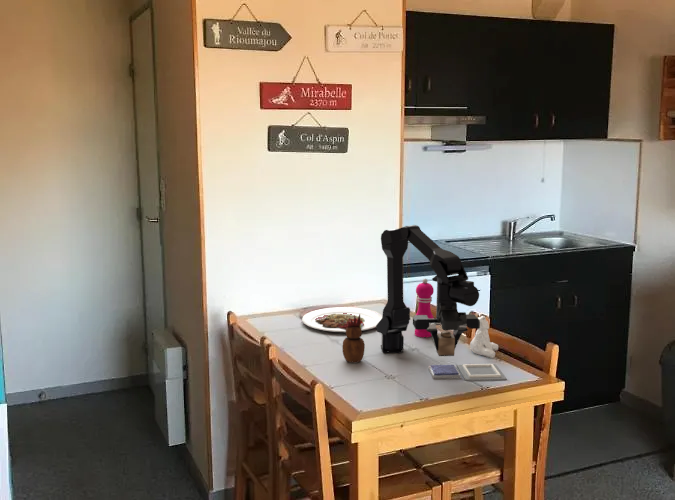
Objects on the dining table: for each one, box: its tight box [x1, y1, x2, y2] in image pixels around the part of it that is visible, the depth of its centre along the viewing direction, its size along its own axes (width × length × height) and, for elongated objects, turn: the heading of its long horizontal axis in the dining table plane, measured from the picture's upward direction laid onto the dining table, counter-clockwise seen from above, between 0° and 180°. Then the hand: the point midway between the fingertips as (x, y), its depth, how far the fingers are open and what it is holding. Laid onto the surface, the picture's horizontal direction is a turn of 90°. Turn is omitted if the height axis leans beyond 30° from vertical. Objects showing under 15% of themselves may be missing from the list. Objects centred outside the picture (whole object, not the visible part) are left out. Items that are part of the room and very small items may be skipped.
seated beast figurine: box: [469, 315, 499, 359], centre depth 229 cm, size 10×9×12 cm
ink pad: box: [427, 364, 462, 380], centre depth 211 cm, size 8×8×1 cm
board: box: [456, 363, 508, 382], centre depth 212 cm, size 12×12×1 cm
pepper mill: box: [414, 278, 435, 338], centre depth 246 cm, size 7×7×20 cm
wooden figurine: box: [342, 314, 366, 364], centre depth 221 cm, size 7×6×15 cm
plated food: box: [301, 306, 383, 333], centre depth 262 cm, size 30×30×3 cm
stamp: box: [435, 330, 456, 357], centre depth 209 cm, size 4×4×6 cm
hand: (445, 349), depth 210 cm, fingers closed on stamp, 4 cm apart
